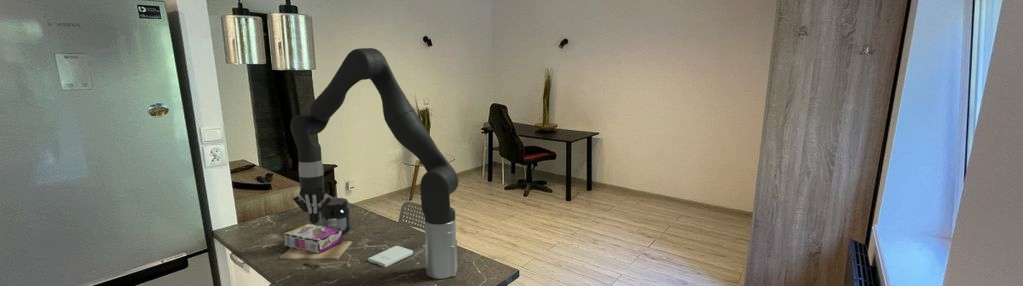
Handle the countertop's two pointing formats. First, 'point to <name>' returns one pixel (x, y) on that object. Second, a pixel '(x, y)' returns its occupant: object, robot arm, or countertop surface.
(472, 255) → the countertop surface
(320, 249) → the candy bar box
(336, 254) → the cork mat
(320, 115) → the robot arm
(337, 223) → the supplement container
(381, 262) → the external hard drive
